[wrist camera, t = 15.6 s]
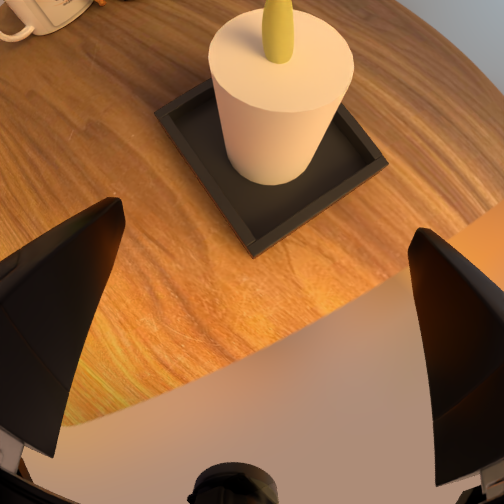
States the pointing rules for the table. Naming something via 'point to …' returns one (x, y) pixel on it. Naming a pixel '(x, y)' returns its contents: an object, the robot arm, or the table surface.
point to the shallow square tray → (268, 196)
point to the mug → (44, 15)
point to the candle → (277, 88)
